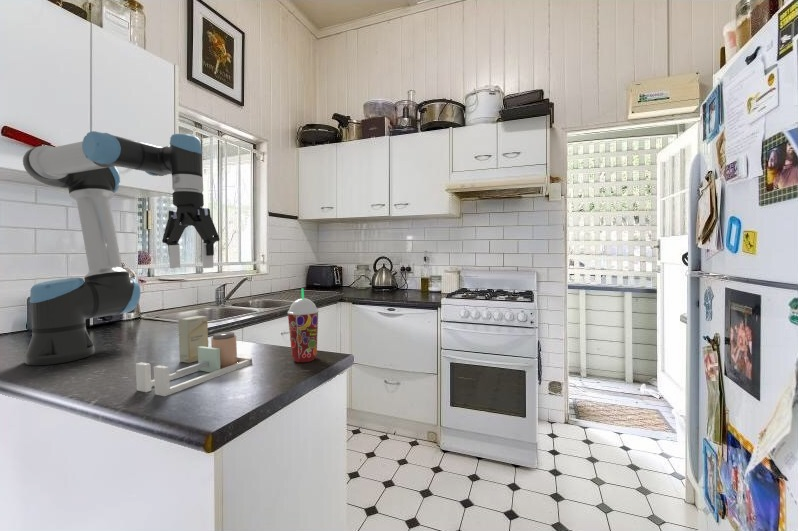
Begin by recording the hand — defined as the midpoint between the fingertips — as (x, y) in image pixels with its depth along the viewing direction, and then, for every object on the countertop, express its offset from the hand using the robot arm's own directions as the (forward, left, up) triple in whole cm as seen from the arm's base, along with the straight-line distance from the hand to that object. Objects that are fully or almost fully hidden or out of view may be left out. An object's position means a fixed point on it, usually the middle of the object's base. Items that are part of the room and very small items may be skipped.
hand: (191, 267), depth 104 cm
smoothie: (+30, +11, -26) cm, 41 cm away
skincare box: (0, 0, -26) cm, 27 cm away
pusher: (+14, -10, -26) cm, 31 cm away
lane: (+14, -9, -26) cm, 31 cm away
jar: (+14, -2, -26) cm, 30 cm away
